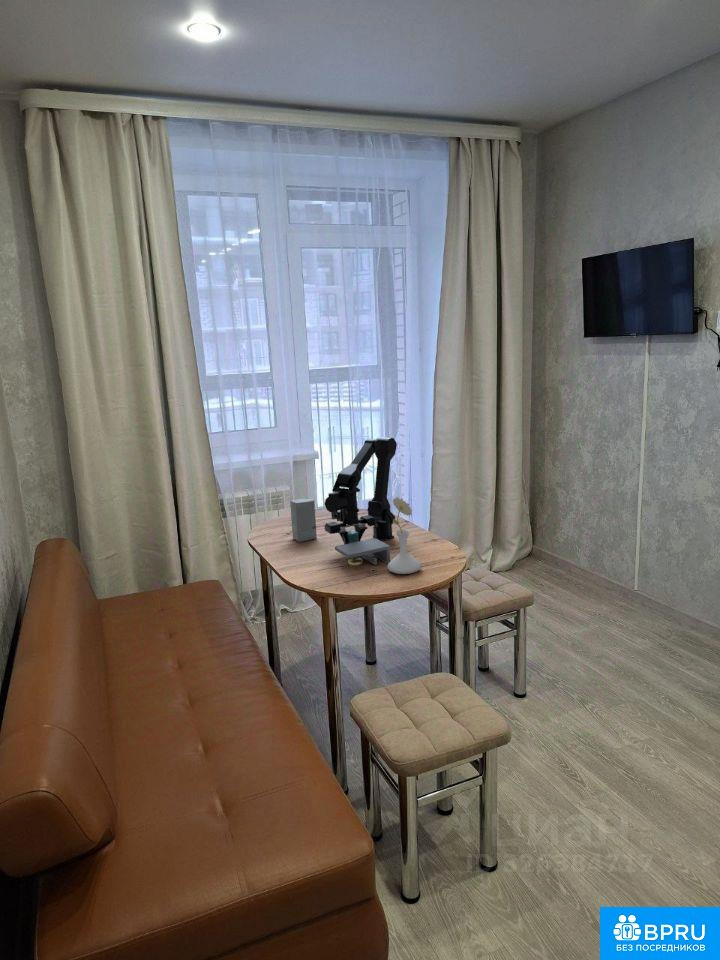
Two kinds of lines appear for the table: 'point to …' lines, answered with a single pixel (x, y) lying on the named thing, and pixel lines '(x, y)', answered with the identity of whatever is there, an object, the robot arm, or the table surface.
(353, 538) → the blade tool
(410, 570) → the flower in vase
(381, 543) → the shelf
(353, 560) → the token
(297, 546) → the table surface
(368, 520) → the robot arm
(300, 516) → the skincare box
